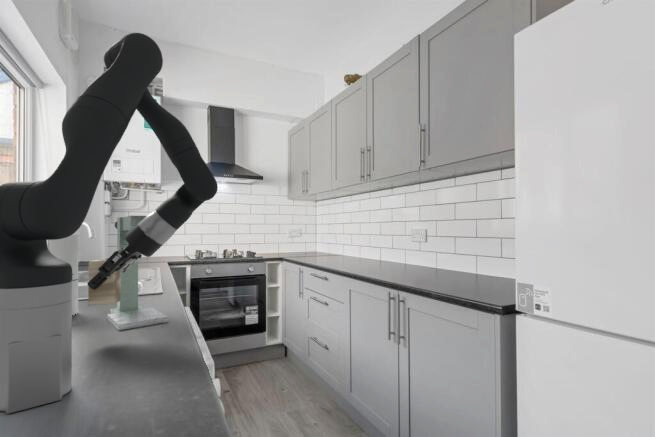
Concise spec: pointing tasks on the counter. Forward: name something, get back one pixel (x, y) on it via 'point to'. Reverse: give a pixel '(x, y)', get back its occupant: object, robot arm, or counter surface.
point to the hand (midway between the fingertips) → (96, 285)
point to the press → (131, 288)
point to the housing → (104, 286)
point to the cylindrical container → (68, 253)
